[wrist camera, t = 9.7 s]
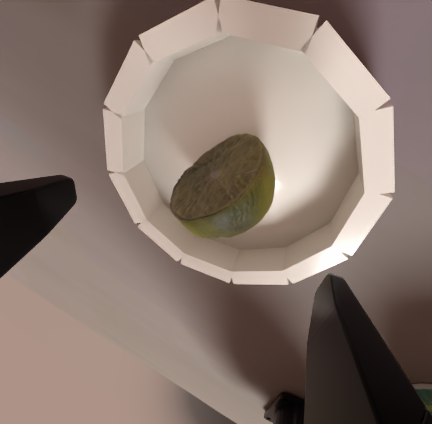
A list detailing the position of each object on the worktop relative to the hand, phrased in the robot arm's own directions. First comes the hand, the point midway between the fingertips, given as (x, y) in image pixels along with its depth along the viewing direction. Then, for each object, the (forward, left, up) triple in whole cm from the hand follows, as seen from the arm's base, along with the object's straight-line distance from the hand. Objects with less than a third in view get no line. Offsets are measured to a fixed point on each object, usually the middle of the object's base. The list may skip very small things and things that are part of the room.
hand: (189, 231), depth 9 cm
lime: (0, 0, -6) cm, 6 cm away
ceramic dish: (0, 0, -7) cm, 7 cm away
